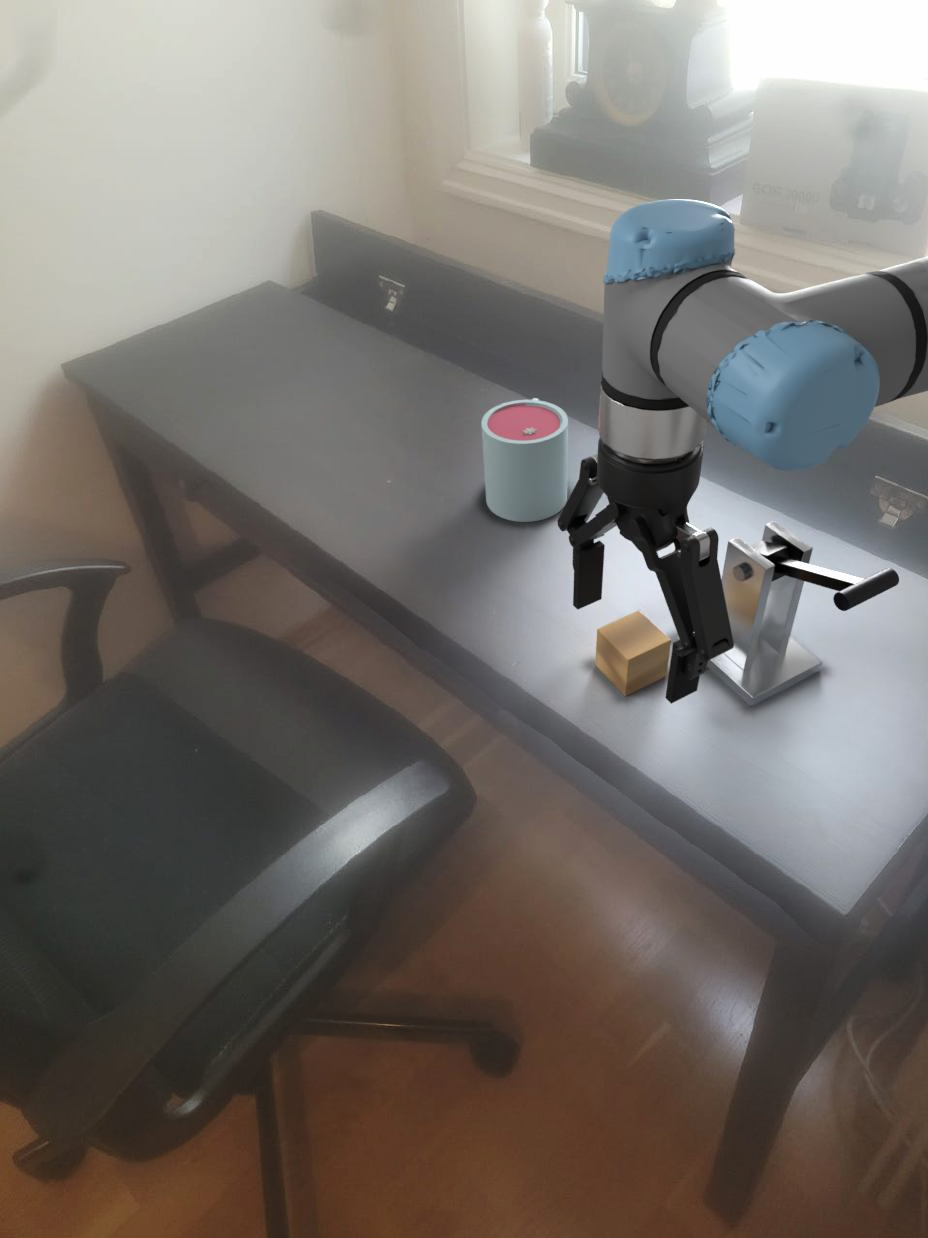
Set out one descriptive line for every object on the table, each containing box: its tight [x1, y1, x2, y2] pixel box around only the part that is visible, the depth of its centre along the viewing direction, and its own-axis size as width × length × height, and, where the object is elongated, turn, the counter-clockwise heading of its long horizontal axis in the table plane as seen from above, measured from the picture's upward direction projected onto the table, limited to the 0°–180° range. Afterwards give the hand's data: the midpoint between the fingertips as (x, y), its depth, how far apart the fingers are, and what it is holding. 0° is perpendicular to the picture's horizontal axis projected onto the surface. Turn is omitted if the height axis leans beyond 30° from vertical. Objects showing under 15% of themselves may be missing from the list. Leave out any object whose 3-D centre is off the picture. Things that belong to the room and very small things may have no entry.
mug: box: [480, 397, 569, 523], centre depth 97 cm, size 14×9×10 cm
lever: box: [749, 540, 900, 612], centre depth 67 cm, size 12×5×2 cm, turn 29°
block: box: [594, 610, 672, 697], centre depth 77 cm, size 5×5×5 cm
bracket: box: [675, 520, 823, 708], centre depth 75 cm, size 10×8×13 cm
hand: (631, 645), depth 77 cm, fingers open, 13 cm apart
